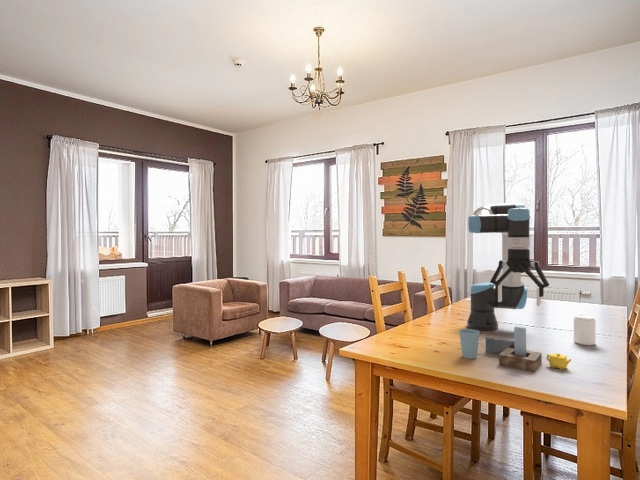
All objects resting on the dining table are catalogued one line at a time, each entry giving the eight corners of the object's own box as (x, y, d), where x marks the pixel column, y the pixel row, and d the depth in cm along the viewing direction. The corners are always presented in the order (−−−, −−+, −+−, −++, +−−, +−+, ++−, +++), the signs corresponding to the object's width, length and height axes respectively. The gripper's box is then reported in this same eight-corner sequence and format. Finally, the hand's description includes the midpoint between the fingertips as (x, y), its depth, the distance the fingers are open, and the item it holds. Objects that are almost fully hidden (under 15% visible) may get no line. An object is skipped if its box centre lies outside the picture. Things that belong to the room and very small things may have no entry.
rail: (485, 352, 164) (485, 337, 164) (486, 351, 165) (486, 337, 165) (522, 358, 155) (522, 343, 155) (523, 357, 156) (523, 342, 156)
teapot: (574, 368, 144) (574, 354, 144) (569, 372, 140) (569, 357, 140) (549, 363, 150) (549, 349, 150) (545, 366, 146) (544, 353, 146)
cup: (456, 353, 163) (456, 328, 163) (475, 353, 162) (475, 328, 162) (462, 359, 155) (462, 333, 155) (482, 359, 155) (482, 333, 154)
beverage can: (585, 346, 170) (585, 319, 170) (569, 341, 178) (569, 315, 178) (600, 345, 172) (600, 317, 172) (583, 340, 180) (583, 314, 180)
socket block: (499, 365, 148) (499, 354, 148) (507, 357, 157) (507, 347, 157) (534, 371, 141) (534, 360, 141) (541, 363, 150) (541, 352, 150)
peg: (513, 364, 149) (513, 327, 149) (516, 361, 152) (515, 325, 152) (524, 366, 146) (524, 329, 146) (527, 363, 149) (527, 327, 149)
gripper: (481, 248, 156) (482, 301, 156) (554, 249, 140) (554, 308, 140) (487, 247, 162) (488, 298, 162) (557, 248, 146) (557, 305, 146)
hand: (518, 303), depth 151 cm, fingers open, 13 cm apart
